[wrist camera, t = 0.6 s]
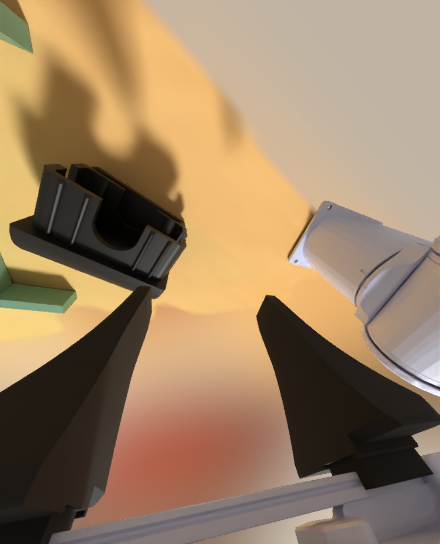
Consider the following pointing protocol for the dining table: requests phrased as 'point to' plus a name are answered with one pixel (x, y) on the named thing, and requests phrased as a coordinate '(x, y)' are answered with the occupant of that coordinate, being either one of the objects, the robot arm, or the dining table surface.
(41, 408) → the robot arm
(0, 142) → the dining table surface
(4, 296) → the putting pocket
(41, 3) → the dining table surface
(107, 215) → the black plastic holder
